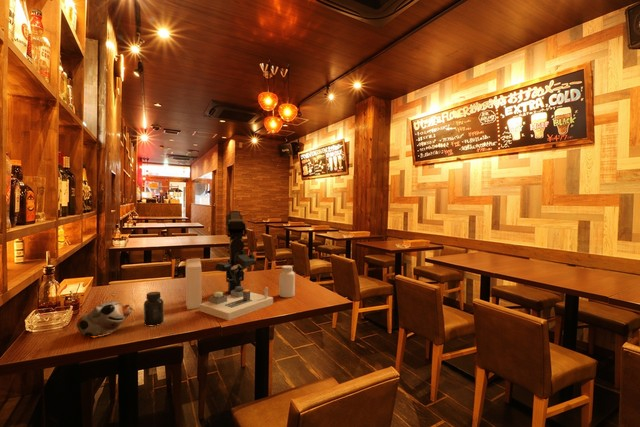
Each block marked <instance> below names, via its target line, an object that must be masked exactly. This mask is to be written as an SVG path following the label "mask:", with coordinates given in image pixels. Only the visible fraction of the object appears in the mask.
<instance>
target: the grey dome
mask: <svg viewBox="0 0 640 427" xmlns="http://www.w3.org/2000/svg"><path fill="white" fill-rule="evenodd" d="M243 289H244V286H243V285H241V286H237V287H235V292H241V291H243Z"/></svg>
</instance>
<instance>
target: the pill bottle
mask: <svg viewBox="0 0 640 427" xmlns="http://www.w3.org/2000/svg"><path fill="white" fill-rule="evenodd" d="M278 282H279V283H278V284H279V285H278V294H279V297H281V298H287V299H288V298H292V297H295V296H296V294H295V293H296V290H295V289H296V288H295V287H296V273H295V272H294V270H293V266H292V265H282V266H281V271H280V273H279V277H278Z"/></svg>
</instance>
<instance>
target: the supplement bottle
mask: <svg viewBox="0 0 640 427" xmlns="http://www.w3.org/2000/svg"><path fill="white" fill-rule="evenodd" d="M161 297H162V296H161V292H160V291H149V292H148V293H146V300H145V301H144V302H143V324H144V325H145V324H146V325H156V326H158V325H157V324H160V325H162V324H163V323H162V322H164V319H165V318H164V316H165V315H164V300H163V299H162V298H161ZM161 323H162V324H161ZM146 325H145V326H146Z"/></svg>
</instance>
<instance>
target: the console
mask: <svg viewBox="0 0 640 427" xmlns="http://www.w3.org/2000/svg"><path fill="white" fill-rule="evenodd" d="M268 289H269V287H267V286H265V287H264V295H263V294H259V293H255V292H251V291H250V300H248V301H245V300H243V291H241V292H235V290H232V291H231V294H229V295H224V294H223V297H221V298H214V295H211V296H209V301H206V302H202V304H200V308H199V312H201V313H205V314H208V315H210V316H213V317H216V318H220V319H223V320H226V321H227V322H228V321H232V320H234V319H236V318H239V317H242V316H245V315H247V314H248V315H249V314H250V313H253V312H255V311H258V310H261V309H264V308H266V307H269V306H271V305H274V297H272V296H269V292H268V291H269V290H268ZM243 290H246V288H245V289H244V288H243Z"/></svg>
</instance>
